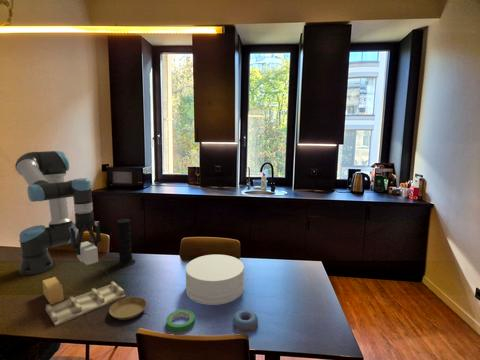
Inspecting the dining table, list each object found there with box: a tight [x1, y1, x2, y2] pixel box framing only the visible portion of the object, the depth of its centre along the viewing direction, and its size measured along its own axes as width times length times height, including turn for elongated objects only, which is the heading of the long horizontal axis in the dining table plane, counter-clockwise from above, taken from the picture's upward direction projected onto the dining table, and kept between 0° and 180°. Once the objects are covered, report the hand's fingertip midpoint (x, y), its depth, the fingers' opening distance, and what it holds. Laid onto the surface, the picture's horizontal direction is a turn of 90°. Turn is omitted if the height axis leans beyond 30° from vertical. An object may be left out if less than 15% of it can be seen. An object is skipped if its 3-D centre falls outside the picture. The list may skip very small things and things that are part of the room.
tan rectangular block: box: [42, 276, 65, 306], centre depth 129 cm, size 12×5×7 cm, turn 47°
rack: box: [45, 280, 127, 327], centre depth 125 cm, size 15×28×3 cm, turn 136°
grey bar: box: [76, 241, 99, 266], centre depth 135 cm, size 12×5×7 cm, turn 48°
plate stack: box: [185, 254, 245, 306], centre depth 137 cm, size 28×28×12 cm
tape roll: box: [165, 309, 196, 334], centre depth 112 cm, size 11×11×3 cm
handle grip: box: [116, 218, 136, 268], centre depth 163 cm, size 10×26×10 cm
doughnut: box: [232, 309, 259, 332], centre depth 112 cm, size 10×10×5 cm
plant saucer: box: [108, 296, 148, 321], centre depth 119 cm, size 15×15×3 cm
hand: (87, 258), depth 135 cm, fingers closed on grey bar, 5 cm apart
